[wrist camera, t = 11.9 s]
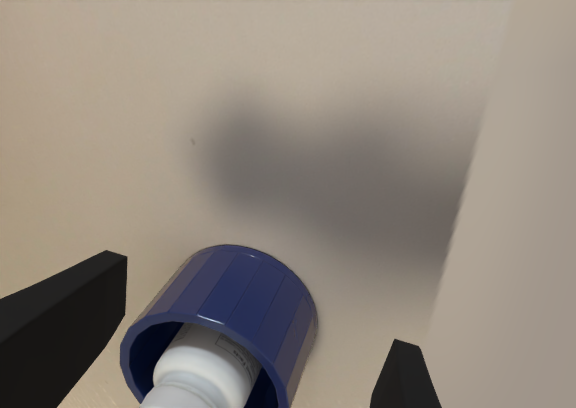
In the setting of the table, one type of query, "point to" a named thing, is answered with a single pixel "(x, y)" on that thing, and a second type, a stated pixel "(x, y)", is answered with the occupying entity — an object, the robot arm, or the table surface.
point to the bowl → (229, 320)
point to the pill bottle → (202, 371)
